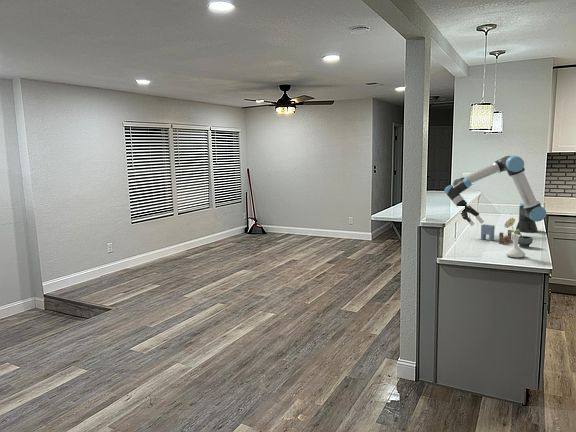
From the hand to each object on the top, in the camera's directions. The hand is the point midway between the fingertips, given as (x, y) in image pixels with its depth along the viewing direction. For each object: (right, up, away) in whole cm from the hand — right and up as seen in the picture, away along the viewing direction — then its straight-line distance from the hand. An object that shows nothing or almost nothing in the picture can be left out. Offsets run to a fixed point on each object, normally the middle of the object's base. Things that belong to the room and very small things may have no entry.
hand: (477, 223), depth 326 cm
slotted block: (+5, -12, -3) cm, 13 cm away
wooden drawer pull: (+14, -13, -13) cm, 23 cm away
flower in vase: (-1, -20, -53) cm, 57 cm away
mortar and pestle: (+18, -16, -29) cm, 38 cm away
